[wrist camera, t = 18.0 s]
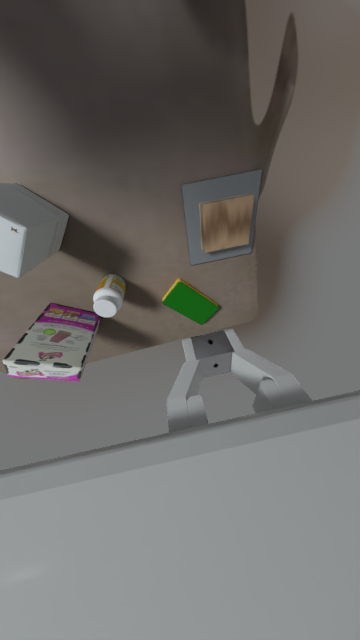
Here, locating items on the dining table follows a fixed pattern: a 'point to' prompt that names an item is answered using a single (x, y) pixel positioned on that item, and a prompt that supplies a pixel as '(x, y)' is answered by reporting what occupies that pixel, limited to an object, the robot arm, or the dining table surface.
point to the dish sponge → (189, 302)
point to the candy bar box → (54, 345)
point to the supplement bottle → (109, 295)
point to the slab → (226, 222)
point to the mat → (212, 192)
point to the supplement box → (27, 229)
